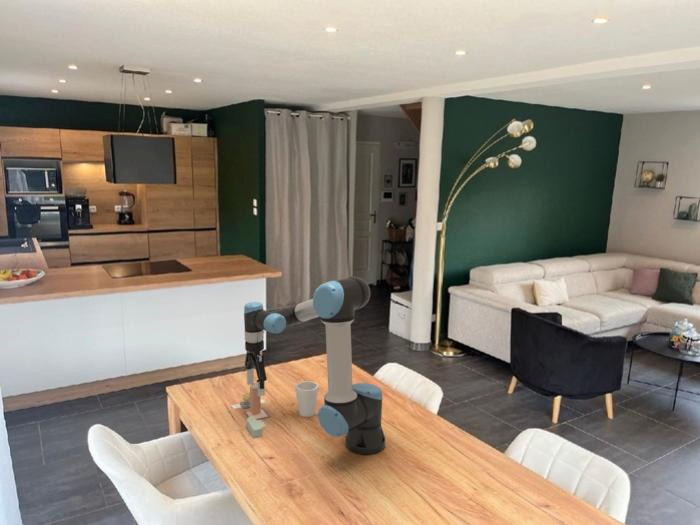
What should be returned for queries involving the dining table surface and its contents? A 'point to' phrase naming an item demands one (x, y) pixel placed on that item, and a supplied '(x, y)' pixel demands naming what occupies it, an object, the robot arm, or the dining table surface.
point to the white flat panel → (258, 416)
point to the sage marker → (254, 427)
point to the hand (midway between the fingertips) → (255, 389)
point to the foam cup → (306, 398)
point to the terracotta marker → (254, 400)
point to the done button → (246, 397)
